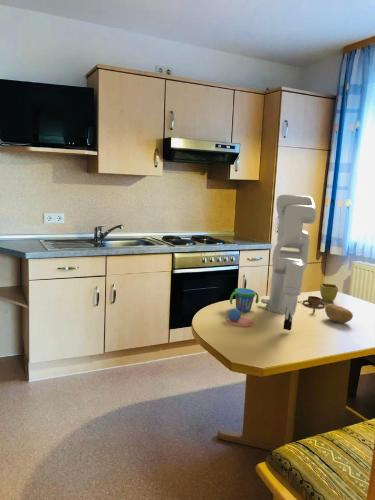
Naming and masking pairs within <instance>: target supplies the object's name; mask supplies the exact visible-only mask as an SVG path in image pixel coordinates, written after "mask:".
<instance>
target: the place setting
mask: <svg viewBox="0 0 375 500" xmlns="http://www.w3.org/2000/svg"><path fill="white" fill-rule="evenodd" d="M297 303H302V305H304V306H305V307H308V308H312V309H313V310H312V314H315V312H316V310H317V309H325V307H326V304H325V303H323V302H322V297H318V296H314V295H310V296H309V295H308V297H307V299H304V300H300V301H299V300H297ZM307 303H308V304H307ZM320 305H321V306H320ZM324 311H325V310H324ZM324 311H322V312H324Z"/></svg>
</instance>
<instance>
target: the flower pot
mask: <svg viewBox="0 0 375 500" xmlns="http://www.w3.org/2000/svg"><path fill="white" fill-rule="evenodd" d="M319 287H320V289H319V291H320V293H319V294H320V298H321V300H322V301H324V302H330V303H332V302H334V300H336V298H337V294H338V292H339V287H338V285H336V284H334V283H322V282H320V285H319Z"/></svg>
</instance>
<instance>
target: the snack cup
mask: <svg viewBox="0 0 375 500" xmlns="http://www.w3.org/2000/svg"><path fill="white" fill-rule="evenodd" d="M234 296H235V309H238V310H239V311H240V312H245V313H246V312H250V311H251V310H252V305H253V303H255V304H258V303H259V301H260V300H259V299H260V297H259V294H258V293H257V292H256V291H255V290H253V289H251V288H244V287H243V288H242V287H237V288H235V289H234V291H232V293H231V295H230V297H229V304H230V305H233V301H234V300H233V299H234ZM255 296H256V299H255V302H254V298H255Z"/></svg>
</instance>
